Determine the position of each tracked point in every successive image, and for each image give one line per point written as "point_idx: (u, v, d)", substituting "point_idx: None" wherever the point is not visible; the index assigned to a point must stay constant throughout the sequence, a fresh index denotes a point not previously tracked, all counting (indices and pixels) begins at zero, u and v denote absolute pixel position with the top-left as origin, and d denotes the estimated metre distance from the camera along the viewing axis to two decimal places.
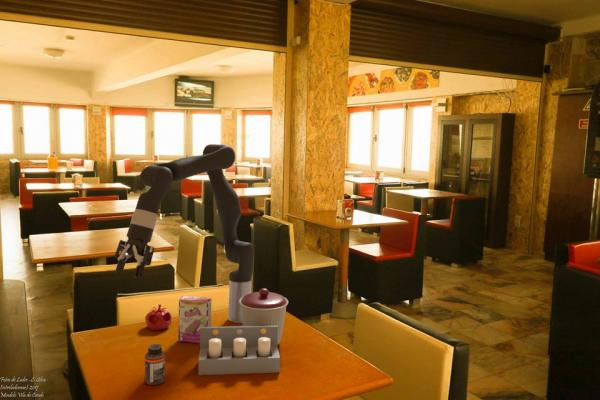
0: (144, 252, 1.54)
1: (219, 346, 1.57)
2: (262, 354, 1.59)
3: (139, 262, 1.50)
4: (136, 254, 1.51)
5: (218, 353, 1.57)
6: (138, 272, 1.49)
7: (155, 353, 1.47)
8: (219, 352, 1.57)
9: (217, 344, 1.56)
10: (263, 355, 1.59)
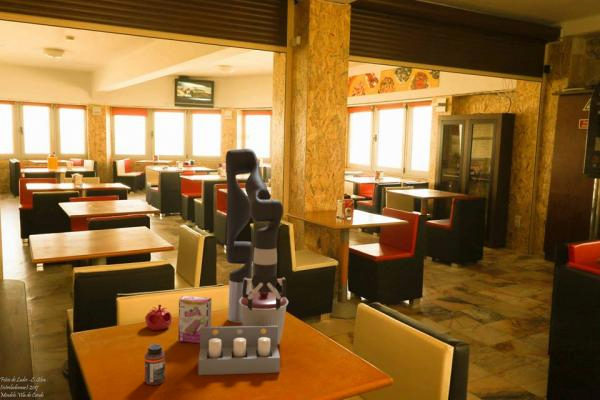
0: None
1: (219, 346, 1.57)
2: (262, 354, 1.59)
3: (279, 296, 1.58)
4: (274, 290, 1.57)
5: (218, 353, 1.57)
6: (279, 304, 1.59)
7: (155, 353, 1.47)
8: (219, 352, 1.57)
9: (217, 344, 1.56)
10: (263, 355, 1.59)
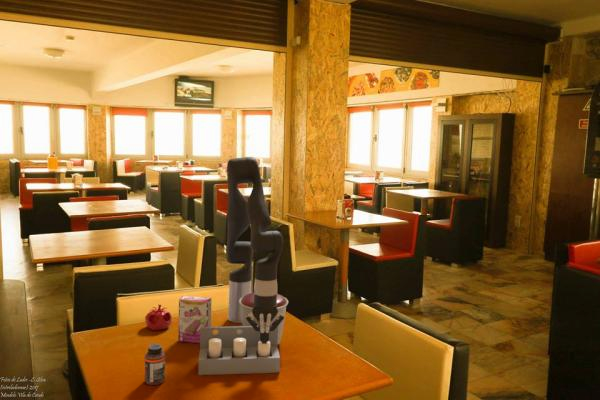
0: None
1: (219, 346, 1.57)
2: None
3: (268, 330, 1.59)
4: (268, 322, 1.58)
5: (218, 353, 1.57)
6: (267, 338, 1.60)
7: (155, 353, 1.47)
8: (219, 352, 1.57)
9: (217, 344, 1.56)
10: None
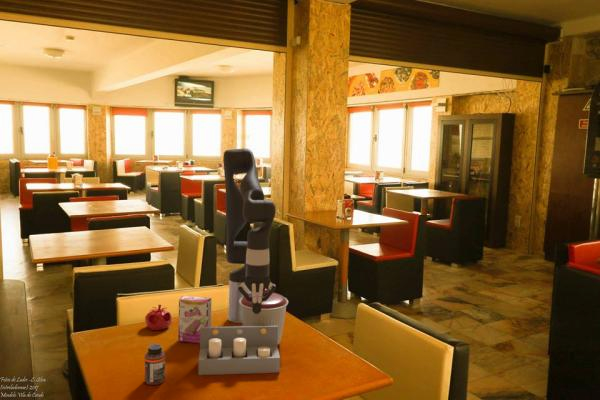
0: None
1: (219, 346, 1.57)
2: None
3: (260, 300, 1.57)
4: (261, 292, 1.57)
5: (218, 353, 1.57)
6: (260, 308, 1.58)
7: (155, 353, 1.47)
8: (219, 352, 1.57)
9: (217, 344, 1.56)
10: None
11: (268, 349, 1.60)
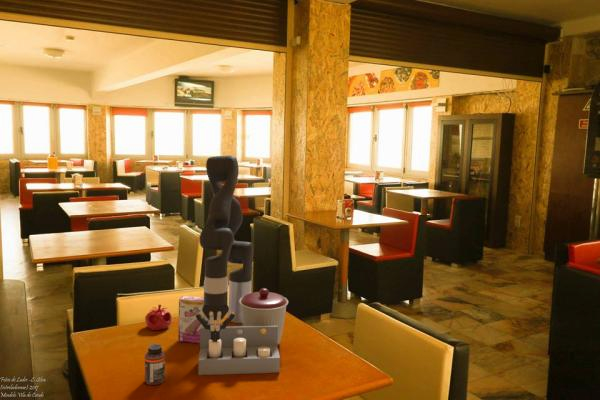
0: None
1: (219, 346, 1.57)
2: None
3: (218, 328, 1.56)
4: (219, 321, 1.56)
5: (218, 353, 1.57)
6: (218, 336, 1.57)
7: (155, 353, 1.47)
8: (219, 352, 1.57)
9: (217, 344, 1.56)
10: None
11: (268, 349, 1.60)
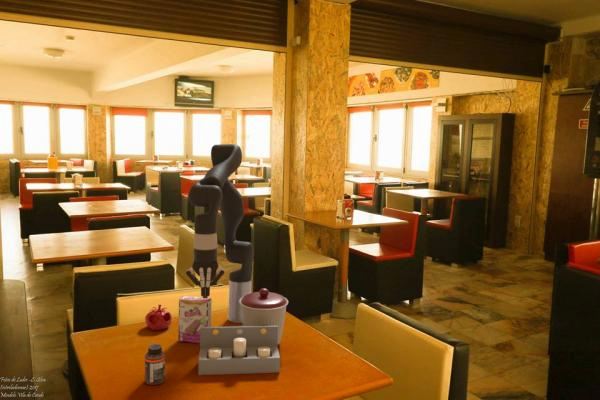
0: None
1: (219, 356, 1.57)
2: None
3: (208, 284, 1.59)
4: (209, 277, 1.58)
5: None
6: (208, 292, 1.60)
7: (155, 353, 1.47)
8: None
9: (217, 354, 1.57)
10: None
11: (268, 349, 1.60)
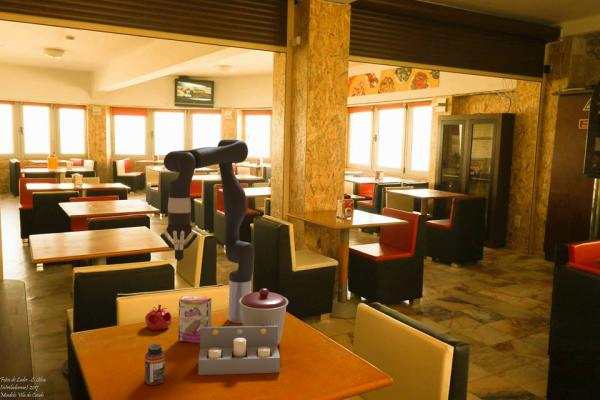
0: None
1: (219, 356, 1.57)
2: None
3: (182, 247, 1.66)
4: (182, 240, 1.65)
5: None
6: (182, 255, 1.67)
7: (155, 353, 1.47)
8: None
9: (217, 354, 1.57)
10: None
11: (268, 349, 1.60)
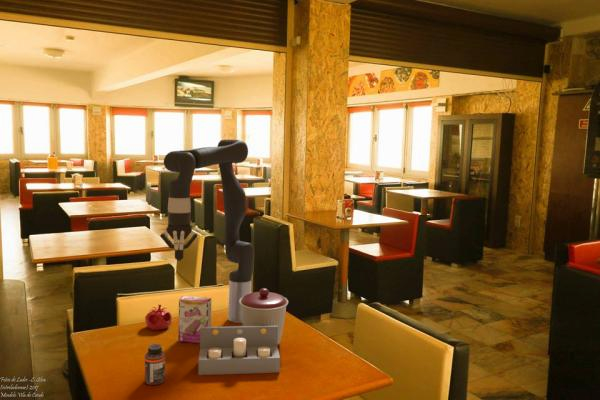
0: None
1: (219, 356, 1.57)
2: None
3: (182, 247, 1.66)
4: (182, 240, 1.65)
5: None
6: (182, 255, 1.67)
7: (155, 353, 1.47)
8: None
9: (217, 354, 1.57)
10: None
11: (268, 349, 1.60)
